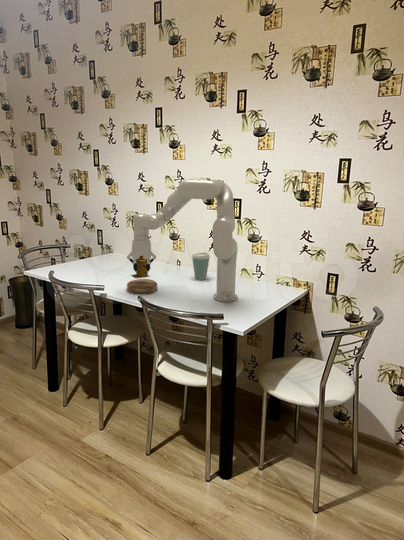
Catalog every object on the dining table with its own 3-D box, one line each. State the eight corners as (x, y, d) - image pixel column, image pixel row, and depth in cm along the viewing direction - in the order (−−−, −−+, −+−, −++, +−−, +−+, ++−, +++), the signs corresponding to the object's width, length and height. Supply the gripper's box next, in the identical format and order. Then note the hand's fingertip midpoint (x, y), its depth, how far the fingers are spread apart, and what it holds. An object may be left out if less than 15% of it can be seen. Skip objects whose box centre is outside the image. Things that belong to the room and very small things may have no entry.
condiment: (150, 276, 228) (150, 254, 225) (136, 279, 224) (135, 256, 220) (144, 273, 234) (144, 251, 231) (130, 275, 229) (129, 253, 226)
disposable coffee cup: (194, 281, 247) (194, 256, 243) (189, 276, 257) (189, 252, 253) (211, 280, 250) (212, 255, 246) (206, 275, 260) (207, 251, 256)
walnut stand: (157, 294, 224) (156, 287, 223) (125, 294, 222) (125, 287, 221) (157, 285, 239) (157, 278, 238) (128, 285, 238) (128, 278, 237)
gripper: (158, 236, 228) (158, 269, 232) (125, 236, 226) (126, 269, 231) (157, 239, 220) (158, 272, 225) (123, 239, 219) (124, 273, 224)
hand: (141, 270), depth 228 cm, fingers closed on condiment, 6 cm apart
